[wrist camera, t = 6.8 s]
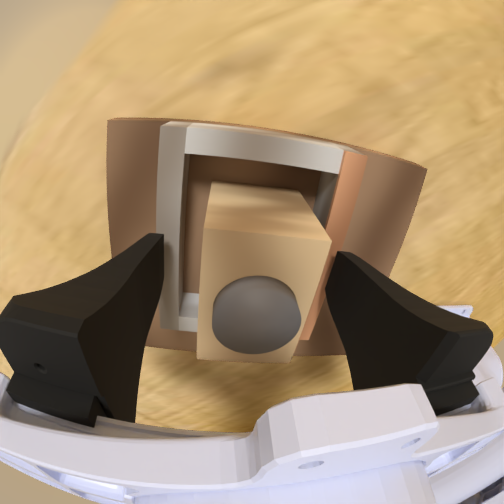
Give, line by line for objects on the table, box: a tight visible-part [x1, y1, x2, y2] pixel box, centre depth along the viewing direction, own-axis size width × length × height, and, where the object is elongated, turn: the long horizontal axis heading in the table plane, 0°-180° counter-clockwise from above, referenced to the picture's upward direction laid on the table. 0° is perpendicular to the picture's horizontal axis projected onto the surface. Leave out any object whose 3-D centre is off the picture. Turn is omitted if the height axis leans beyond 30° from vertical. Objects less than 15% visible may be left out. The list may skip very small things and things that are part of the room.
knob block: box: [197, 180, 332, 363], centre depth 12 cm, size 4×6×6 cm
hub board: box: [107, 118, 427, 356], centre depth 15 cm, size 16×14×3 cm
